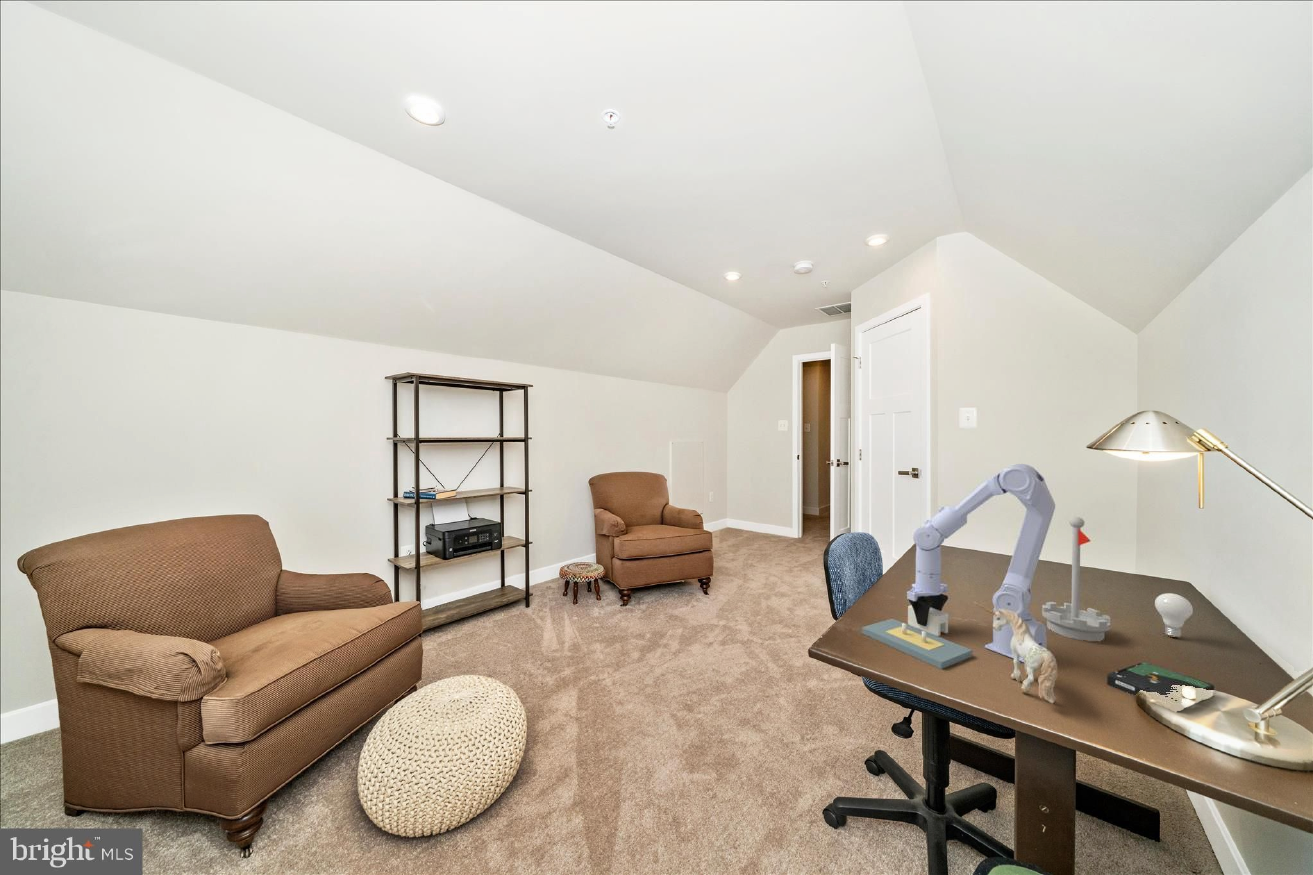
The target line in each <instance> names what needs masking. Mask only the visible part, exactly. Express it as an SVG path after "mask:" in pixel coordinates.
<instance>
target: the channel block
mask: <svg viewBox="0 0 1313 875" xmlns="http://www.w3.org/2000/svg"><path fill="white" fill-rule="evenodd" d="M907 625H910V626H912V627H915V628H917V629H920V630H922V631H925V632H927V633H930V634H932V635H935V636H937V637H939V636H941V633H944V634H948V633H949V613H947V612H945V611H943V610H942V611H939V610H936V609H934V608H931V607H930V610H929V614H928V621H927V625H926V626H922V625H920V624H917V620H916V616H915V613H914V610H913V607H912V605H911V604H910V605H908V606H907Z"/></svg>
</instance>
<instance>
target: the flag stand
mask: <svg viewBox="0 0 1313 875" xmlns="http://www.w3.org/2000/svg"><path fill="white" fill-rule="evenodd" d="M1068 523H1069V525H1070V526H1071V527H1072V542H1071V544H1072V549H1071V550H1072V552H1071V555H1072V556H1071V603H1067V602H1063V606H1058V604H1057V603H1056V602H1054V601H1049V602H1045V604H1042V608H1041V609H1042V610H1041V614H1042V615H1041V616H1042V617H1044V619H1046V628H1047V629H1049V630H1050V629H1051V630H1052V632H1053V631H1054V633H1056V634H1057V633H1058V635H1061V636H1063V637H1066V636H1067V637H1066V638H1070V639H1073V638H1075V639H1074V640H1078V641H1083V640H1090V641H1089V642H1093V641H1098V640H1103V639H1104V640H1105V632H1107V631H1110V630H1111V617H1110V616H1109V615H1106V614H1102V615H1101V611H1100V610H1097V609H1094V608H1092V607H1088V608H1087V609H1086V610H1082V609H1080V597H1081V596H1080V593H1081V592H1080V590H1081V588H1080V585H1081V582H1080V581H1081V578H1080V577H1081V546H1082V545H1084V544H1088V543H1090V542H1092V540H1091V539H1090V538H1089V537H1087V535H1086V534H1085V533H1084V532H1083V531H1082V529H1081V528H1083V527H1084V526H1085V520H1084V519H1083V518H1082V517H1079V516H1072V517H1070V519H1069V521H1068ZM1051 630H1050V631H1051ZM1104 640H1103V641H1104ZM1098 642H1099V641H1098Z"/></svg>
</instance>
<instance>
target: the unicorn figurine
mask: <svg viewBox="0 0 1313 875" xmlns="http://www.w3.org/2000/svg"><path fill="white" fill-rule="evenodd" d="M973 603H974V604H975V605H976V606H978V607H979V608H981V609H983V610H984V611H986V612H988V613H990V614H991V615H992V616H993V615H995V620H994V622H992V629H993V628H994V630H995V631H1001V628H1002V627H1003V626H1005V625H1008V624H1009V625H1010V626H1011V627H1012V629H1013V632H1014V636H1013V637H1012V640H1011V649H1012V653H1013V656H1014V659H1013V665H1014V669H1013V673H1011V675H1010V676H1009V678H1011V680H1016V682H1020V679H1021V676H1022V672H1021V669H1020V668H1019V667H1020V666H1021V665H1020V664H1021V661H1019V657H1020V656H1021V657H1022V658H1023V659H1024V662H1023V664H1024V665H1023V666H1024V672H1025V676H1026V679H1025V680H1023V681H1022V685H1021V690H1020V691H1021V693H1022V694H1029V693H1030V688H1031V687H1032V684H1031V683H1033V682H1034V681H1035V672H1036V671H1037V670H1038V669H1040V670H1041V673H1040V674H1041V675H1039V676H1038V679H1037V682H1038V696H1039V698H1040V699H1041V700H1042V699H1043V700H1044V701H1046V702H1049V703H1050V704H1053V703H1055V701H1056V696H1055V693H1054V688H1055V684H1056V683H1055V682H1056V680H1057V678H1058V669H1059V668H1058V663H1057V660H1056V657H1055V655H1054V654H1053V653H1052V652H1051V651H1050V650H1049V649H1047V647H1046V648H1044V647H1041V646H1040V645H1038V644H1037V643H1036V642H1035V641H1034V640H1033V638H1034V637H1033V635H1032V633H1031V632H1030V629H1029V627H1028V625H1027V624H1026V622H1025V621H1023V620H1022V619H1021V618H1020V617H1019V616H1018V615H1017V614H1016V613H1015V612H1012V611H1009V610H1005V609H1000V608H999V609H997V610H998V611H997V612H994V610H991V609H990V608H988V607H986V606H985V605H982V604H979V603H978V602H975V601H974V602H973Z"/></svg>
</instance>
